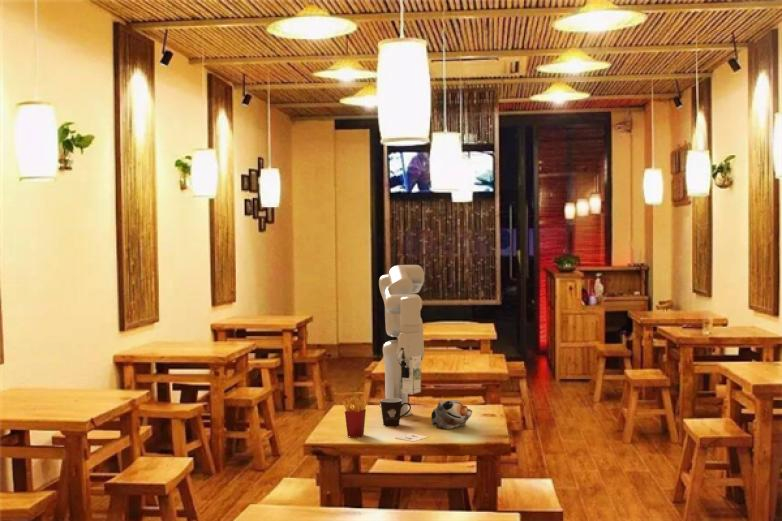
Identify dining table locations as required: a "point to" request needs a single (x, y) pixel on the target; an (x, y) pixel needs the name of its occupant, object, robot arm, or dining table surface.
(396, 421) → the coffee mug
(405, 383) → the syrup box
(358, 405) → the french fries
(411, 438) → the tile
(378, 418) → the dining table surface
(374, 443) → the dining table surface
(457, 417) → the lucky cat figurine
